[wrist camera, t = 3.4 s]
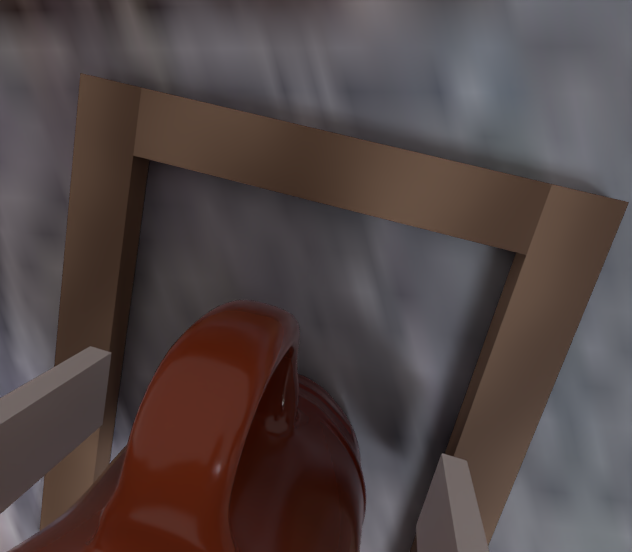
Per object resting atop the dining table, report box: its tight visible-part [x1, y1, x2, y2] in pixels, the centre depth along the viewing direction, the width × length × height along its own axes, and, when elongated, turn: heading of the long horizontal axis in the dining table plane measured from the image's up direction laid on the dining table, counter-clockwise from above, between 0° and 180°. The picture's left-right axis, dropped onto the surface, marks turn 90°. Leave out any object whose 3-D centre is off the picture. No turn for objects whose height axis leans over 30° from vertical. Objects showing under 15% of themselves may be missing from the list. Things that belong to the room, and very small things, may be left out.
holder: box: [40, 73, 629, 552], centre depth 16 cm, size 16×19×1 cm
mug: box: [7, 300, 366, 552], centre depth 11 cm, size 12×9×10 cm
